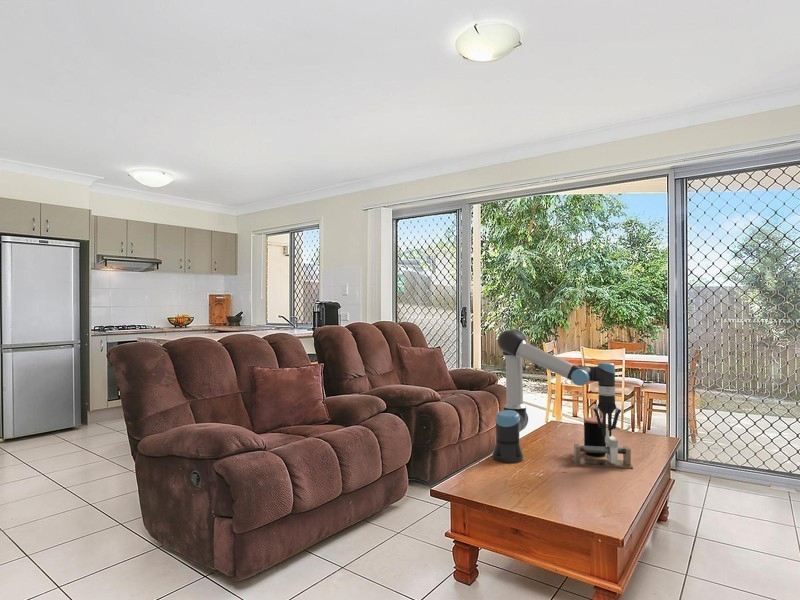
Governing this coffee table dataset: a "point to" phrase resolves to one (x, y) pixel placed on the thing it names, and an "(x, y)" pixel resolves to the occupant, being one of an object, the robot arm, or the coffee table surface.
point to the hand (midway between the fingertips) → (607, 442)
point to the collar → (613, 450)
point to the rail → (602, 462)
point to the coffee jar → (593, 435)
